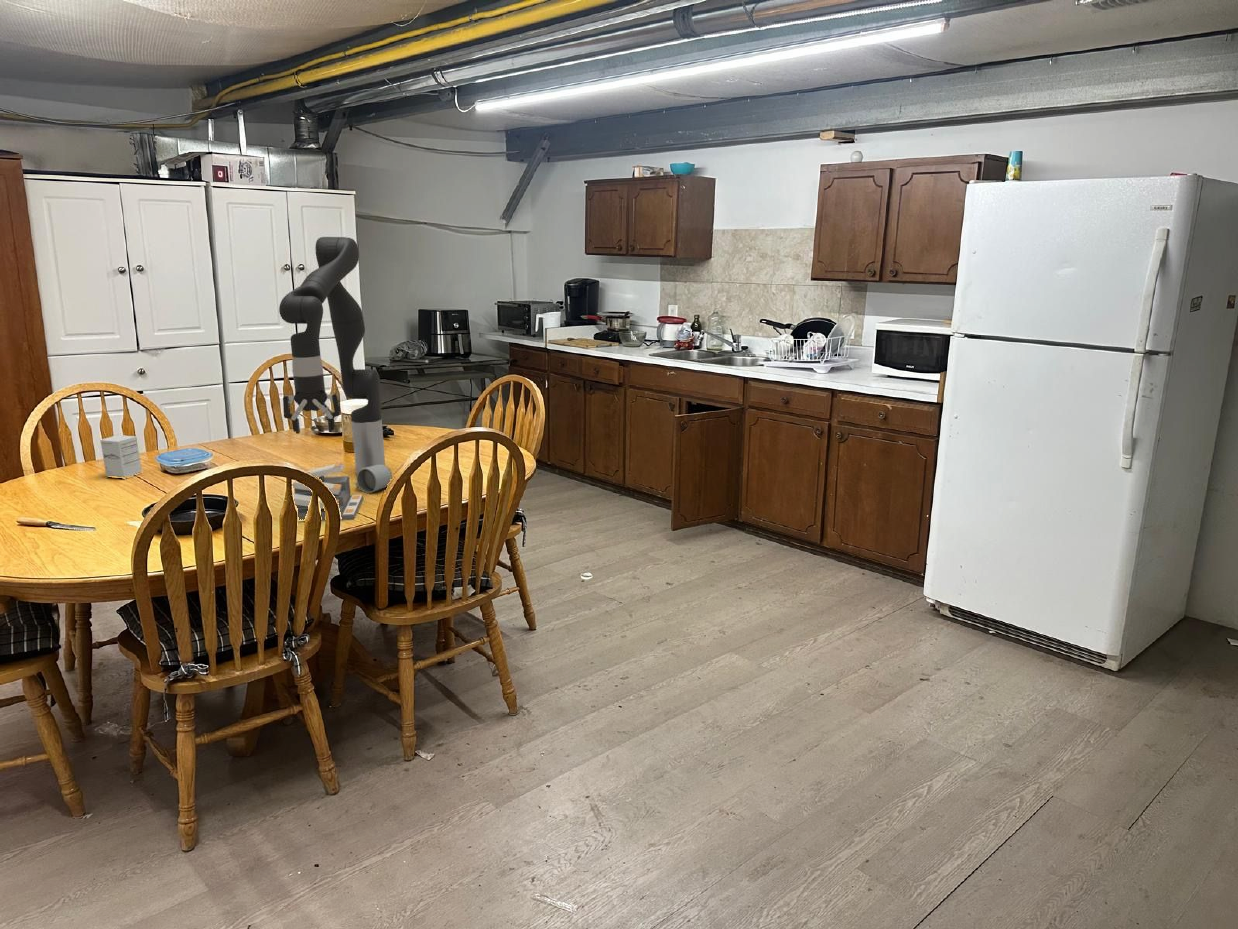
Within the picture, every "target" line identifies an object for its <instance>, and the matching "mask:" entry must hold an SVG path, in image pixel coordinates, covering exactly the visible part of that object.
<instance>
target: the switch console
mask: <svg viewBox="0 0 1238 929" xmlns="http://www.w3.org/2000/svg"><path fill="white" fill-rule="evenodd" d="M319 479H321V480H322V482H324V483H331V484H341V491H340V493H339V495H336V494H333V495H334V496H335V498H336V499H337V500H339V502H338V503H339V508H340V512H341V517H342V520H341V521H345V520H346V521H347V520H349V521H350V520H355V518H356V516H357V514H358V513H359V509H360V507H361V505H362V503H363V501H364V494H351V486H350V476H349V475H339V476H338V475H337V476H335V475H334V476H321V477H319ZM293 489H294V490H293V491H294V492H293V494H300V495H307V496H312V492H311V491H309V490H302V489H296V488H293ZM296 506H297V508H298V517H299V520H300V519H301V520H302V519H303V520H304V519H305V516H306V514H307V511H308V506H302V505H296ZM321 517H322V521H321V522H326V521H325V511H324V509H323V508H321Z"/></svg>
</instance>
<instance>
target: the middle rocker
mask: <svg viewBox="0 0 1238 929" xmlns="http://www.w3.org/2000/svg"><path fill="white" fill-rule="evenodd" d="M323 483H324V482H323ZM325 485H326V486H327V487H328V488H329V490H330V491H331V492H332V494H336V495H339V493H340V491H341V484H331V483H325ZM294 488H296V489H302V490H309V491H311V490H310V489H309V488H308V487H306V486H304V485H303V484H301V483H298V482H296V480H294V482H293V489H294Z"/></svg>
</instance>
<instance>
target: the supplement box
mask: <svg viewBox="0 0 1238 929" xmlns="http://www.w3.org/2000/svg"><path fill="white" fill-rule="evenodd" d="M100 445H101V452H102V459H103V463H104V464H103V465H104V469H105V476H117V477H124V478H125V477H127V476H132V475H135V474H137V473H141V472H142V473H143V470H142V465H141V464H142V463H141V457H140V451H139V443H138V438H137V436H134V435H133V436H131V435H124V434H116V435H113V436H109V437H106V438H102V439H100Z"/></svg>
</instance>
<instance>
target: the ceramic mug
mask: <svg viewBox="0 0 1238 929" xmlns="http://www.w3.org/2000/svg"><path fill="white" fill-rule="evenodd" d="M390 479H392V480H393V474H392V471H391V469H390V468H389V467H388V466H387V465H386V464H385V465H375V466H371V467H366V468H363V469H361V470H360V471H359V472H358V474H357V473H356V482H355V486H356V488H357V489H360V490H361V491H362V492H363V493H366V494H372V493H375V492H378V491H379V490H382V489H384V488H386V486H387V484H388V483H389V482H390ZM387 487H388V486H387Z"/></svg>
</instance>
